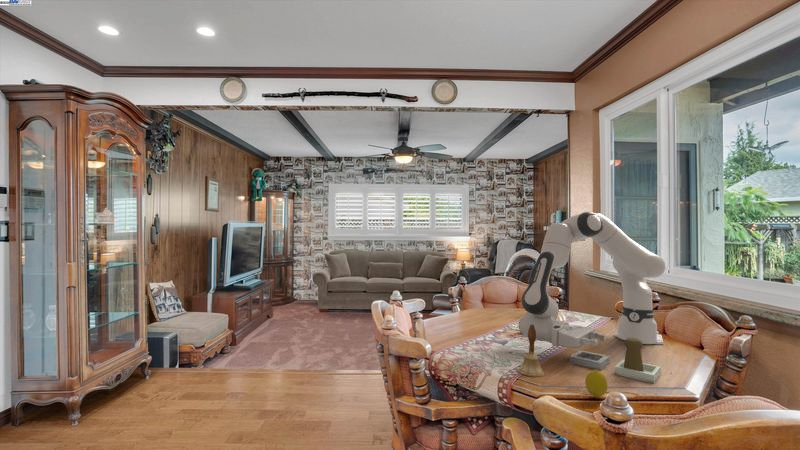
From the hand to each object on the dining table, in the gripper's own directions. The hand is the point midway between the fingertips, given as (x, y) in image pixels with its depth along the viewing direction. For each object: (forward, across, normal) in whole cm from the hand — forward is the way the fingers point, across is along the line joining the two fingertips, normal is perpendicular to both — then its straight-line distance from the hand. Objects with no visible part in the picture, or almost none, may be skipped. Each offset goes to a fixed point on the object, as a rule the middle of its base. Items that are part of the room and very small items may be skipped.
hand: (601, 340), depth 135 cm
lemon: (+7, +30, -9) cm, 32 cm away
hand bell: (-15, +24, -9) cm, 30 cm away
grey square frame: (-4, 0, -9) cm, 10 cm away
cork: (+10, +1, -8) cm, 13 cm away
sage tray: (+11, 0, -9) cm, 14 cm away
